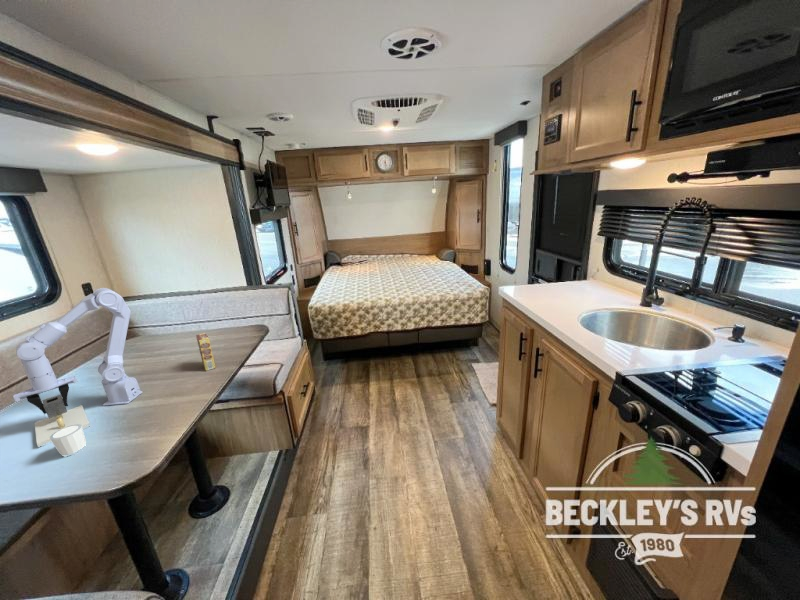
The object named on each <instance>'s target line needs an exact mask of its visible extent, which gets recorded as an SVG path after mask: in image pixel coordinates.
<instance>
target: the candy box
mask: <svg viewBox="0 0 800 600" xmlns="http://www.w3.org/2000/svg"><path fill="white" fill-rule="evenodd" d="M195 337H196V340H197V345H198V350H199V353H200V354H199V355H200V357H201V361H202V365H203V367H204V370H205V371H210V370H214V369H216V364H215V360H214V355H213V351H212V346H211V342H210V338H209V336H208V335H207V333H206V332H203V333H198V334H196V335H195Z"/></svg>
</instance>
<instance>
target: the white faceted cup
mask: <svg viewBox="0 0 800 600" xmlns="http://www.w3.org/2000/svg"><path fill="white" fill-rule="evenodd" d="M85 436H86V435H85V433H84V430H83V428H82V425H81V424H75V425H71V426H67V427H65V428H62V429H60V430H58V431H57V432H55V433H53V434H52V435H51V436H50V440H51V441H52V444H53V445H54V447H55V448H56V450H57V452H58V453H59V454H61V455H69V454H73V453H75V452H77V451H78V450H80V449H82V448H83V447H84V446H86V443H87V440H86V437H85ZM86 447H87V446H86ZM61 455H60V456H61Z"/></svg>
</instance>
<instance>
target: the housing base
mask: <svg viewBox="0 0 800 600" xmlns="http://www.w3.org/2000/svg"><path fill="white" fill-rule="evenodd" d="M75 424H81V425H82V428H86V427H88V426H90V427H91V425H90V421H89V418H88V417H87V414H86V411H85V410H84V405H79V406H76V407H73V408H71V409H67V412H66V413H63V414H61V415H58V416H55V417H53V418H50V419H49V418H48V417H46V418H44V419H43V418H42V419H41V420H38V421H36V422H34V429H35V430H34V431H35V438H36V439H35V440H36V445H37V448H38V447H39V446H41V445H43V444H46V443H48V442H51V440H50V436H51V435H52V434H53V433H55V432H57V431H58V430H60V429H62V428H65V427H67V426H71V425H75ZM86 429H87V428H86Z"/></svg>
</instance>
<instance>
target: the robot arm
mask: <svg viewBox="0 0 800 600" xmlns="http://www.w3.org/2000/svg"><path fill="white" fill-rule="evenodd" d="M100 307H103V308H104V309H106V310H108V311H109V312H110V313H111V314H112V318H111V319H112V320H111V323H110V330H109V335H108V340H107V346H106V351H105V355H104V356H103V360H102V362H101V363H100V364H99V366H98V368H97V371H98V373H99V375H101V377H102V380H101V384H102V387H103V389H104V393H105V394H106V397H107V401H105V402H104V403H103V404H102V406H113V405H114V406H115V405H125V404H126V405H127V404H129V403H130V402H131V401H133V400H134V399H136V398H137V397H138V396H140V395H142V393H143V391H142V390H141V388H140V386H139V382H138V380H137V379H136V378H135V377H133V376H132V377H131V376H129V375H127V373H125V372H126V371H125V368H124V358H123V357H124V349H125V345H126V341H127V339H126V338H127V334H128V329H129V324H130V318H131V313H132V311H131V309H130V308H129V306H128V304H127V303H126V301H125V300H124V297H123V296H121V295H120V294H119V293H117V291H114V290H112V289H111V288H108V287H101V288H97V289H95V290H94V291H93V293H89V294H88V295H86V296H85V297H84V298H83V299H81V300H80V301H79V302H78V303H76V304H75V305H74V306H73V307H72V308H70V310H69V311H67V312H65V314H64V315H62V316H61V317H60V318H58V319H57V321H50V322H49V321H48V322H47V323H46V324H45V323H42V324H41V325H40V326H39V329H38V330H37V331H35V332H34V333H33V334H32V335H31V336H27V337H25V339H24V341H21V342H20V343H19V344H17V345H16V349H15V353H16V356H17V357H18V359H20V362H21V364H22V367H23V369H24V372H25V374H26V377H27V379H28V380H29V383H30V385H31V388H29V389H27V390H25V391H21V392H19V393H16V394H12V395H13V396H12V397H13V399H14V402H15V403H17V402H20V401H22V400H25V399H26V400H27V402H29V403H30V404H32V405H34V406H35V407H37V408H38V409H39V410H40V411H41V412H42V413H43V414H44V415H45V414H46V415H47V413H46V411H45V409H44V407H43V401H42V399H41V396H40V395H41V394H43V393H46V392H49V391H53V390H55V389H58V391H59V395H60V394H61V397H62V399H63V402H64V405H65V407H66V408H67V407H68V406H69V404H68V395H69V390H70V387H69V385H70V384H75V383H76V384H77V383H78V382H79V381H78V379H77V376H76V375H73V376H71V377H67V378H62V379H57V376H56V374H55V372H54V369H53V367H52V365H51V362H50V360H49V358H47V357H46V354H45V351H46V350H45V349H48V348H50V347H51V346H52V345H54V344H55V343H57V341H58V340H60V339H61V338H62V337H64V336H65V335H66V334H68V330H67V328H68V327H69V326H70V325H72V324H73V323H74V322H76V321H77V320H79V319H80V318H81V317H82V316H84V315H85V314H86V313H88V312H90V311H96V310H100V309H101V308H100Z"/></svg>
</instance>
